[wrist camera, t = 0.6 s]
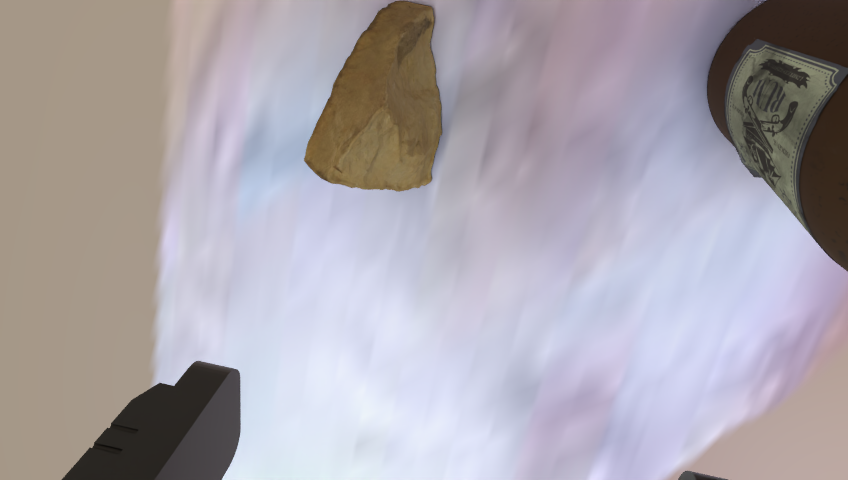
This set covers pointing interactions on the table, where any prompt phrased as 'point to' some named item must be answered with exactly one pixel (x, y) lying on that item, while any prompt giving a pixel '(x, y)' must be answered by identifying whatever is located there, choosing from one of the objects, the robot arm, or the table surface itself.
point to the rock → (382, 107)
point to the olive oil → (791, 109)
